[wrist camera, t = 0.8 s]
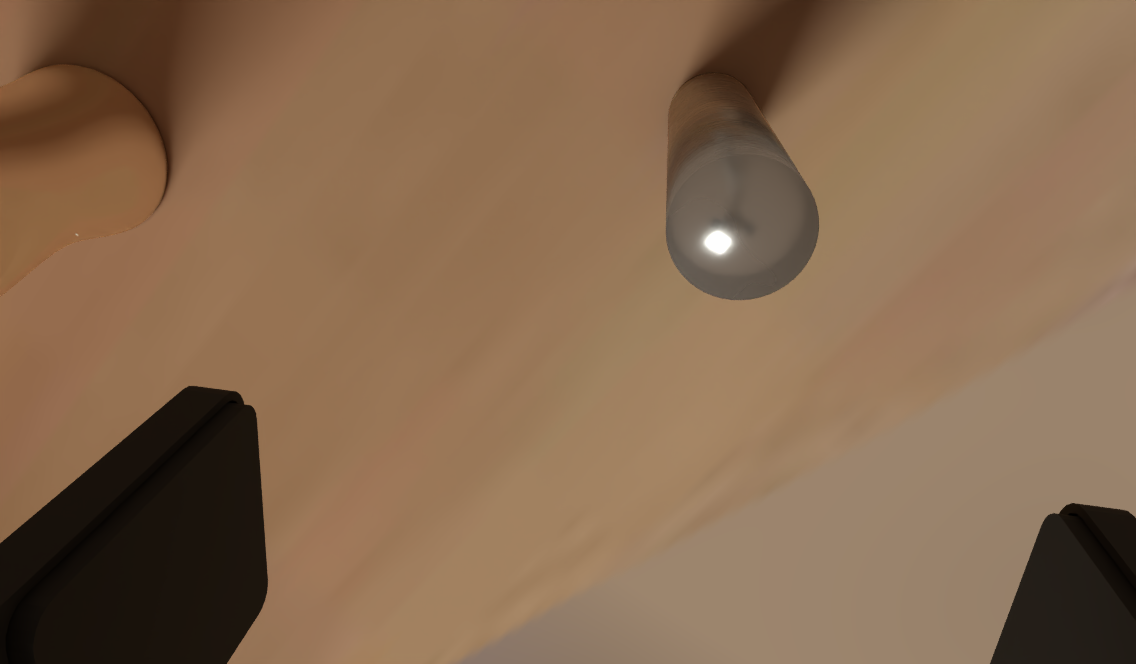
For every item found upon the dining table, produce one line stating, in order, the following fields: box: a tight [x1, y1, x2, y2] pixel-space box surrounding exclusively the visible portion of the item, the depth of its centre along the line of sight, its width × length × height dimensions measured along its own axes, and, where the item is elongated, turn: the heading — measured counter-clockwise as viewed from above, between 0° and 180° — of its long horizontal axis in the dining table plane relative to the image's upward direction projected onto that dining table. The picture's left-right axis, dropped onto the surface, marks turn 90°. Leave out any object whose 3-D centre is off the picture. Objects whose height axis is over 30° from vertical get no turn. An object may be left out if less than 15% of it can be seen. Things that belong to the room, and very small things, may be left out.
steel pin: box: [666, 73, 819, 300], centre depth 22 cm, size 3×3×13 cm
